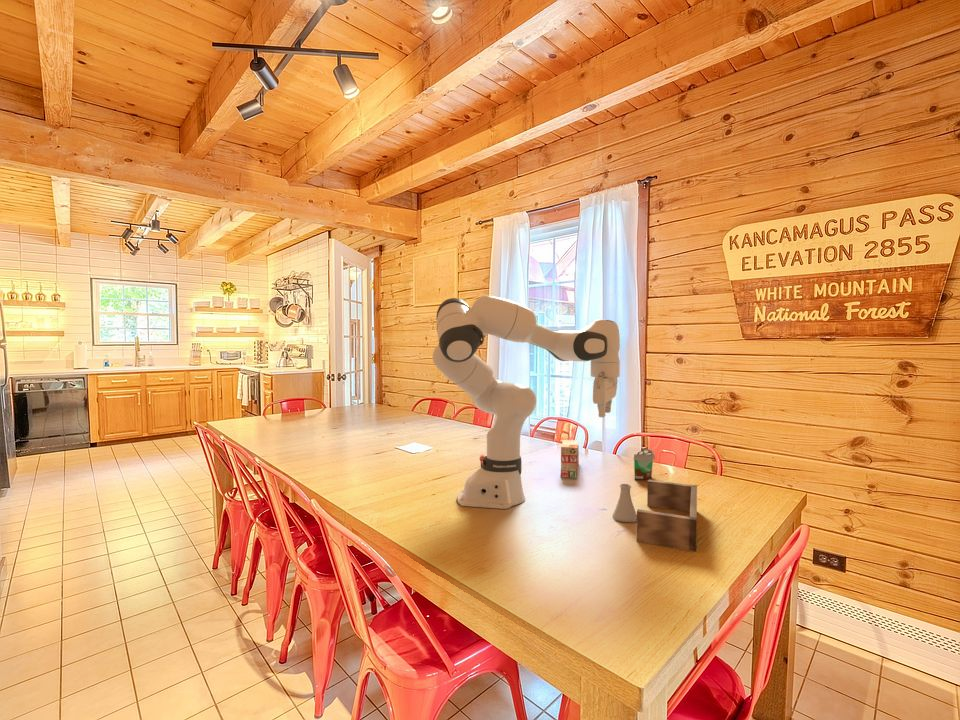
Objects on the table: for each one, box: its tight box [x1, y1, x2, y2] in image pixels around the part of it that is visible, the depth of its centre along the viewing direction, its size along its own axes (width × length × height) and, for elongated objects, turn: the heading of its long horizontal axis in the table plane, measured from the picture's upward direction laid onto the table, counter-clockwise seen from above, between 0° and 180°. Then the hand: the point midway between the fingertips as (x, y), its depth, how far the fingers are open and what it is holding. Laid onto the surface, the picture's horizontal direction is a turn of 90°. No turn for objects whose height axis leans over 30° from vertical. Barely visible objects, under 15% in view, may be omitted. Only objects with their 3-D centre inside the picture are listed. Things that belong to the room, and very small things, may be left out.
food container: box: [633, 447, 656, 482], centre depth 172 cm, size 12×6×10 cm, turn 148°
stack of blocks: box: [560, 439, 580, 479], centre depth 183 cm, size 21×6×12 cm, turn 166°
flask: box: [612, 483, 637, 523], centre depth 133 cm, size 7×7×10 cm
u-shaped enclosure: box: [636, 479, 698, 552], centre depth 128 cm, size 14×29×8 cm, turn 154°
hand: (604, 414), depth 143 cm, fingers open, 8 cm apart
